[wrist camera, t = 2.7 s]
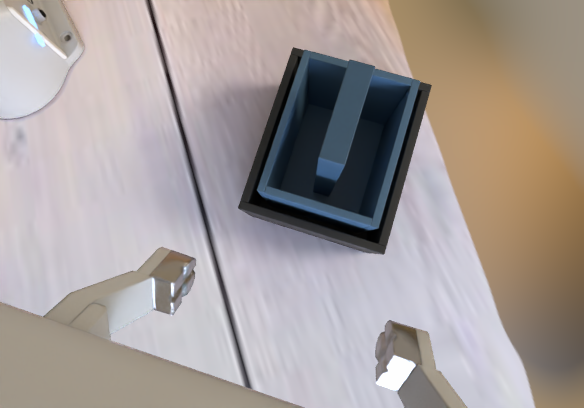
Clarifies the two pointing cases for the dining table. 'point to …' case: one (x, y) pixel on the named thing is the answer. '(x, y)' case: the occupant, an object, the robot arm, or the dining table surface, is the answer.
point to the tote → (363, 241)
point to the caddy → (338, 142)
